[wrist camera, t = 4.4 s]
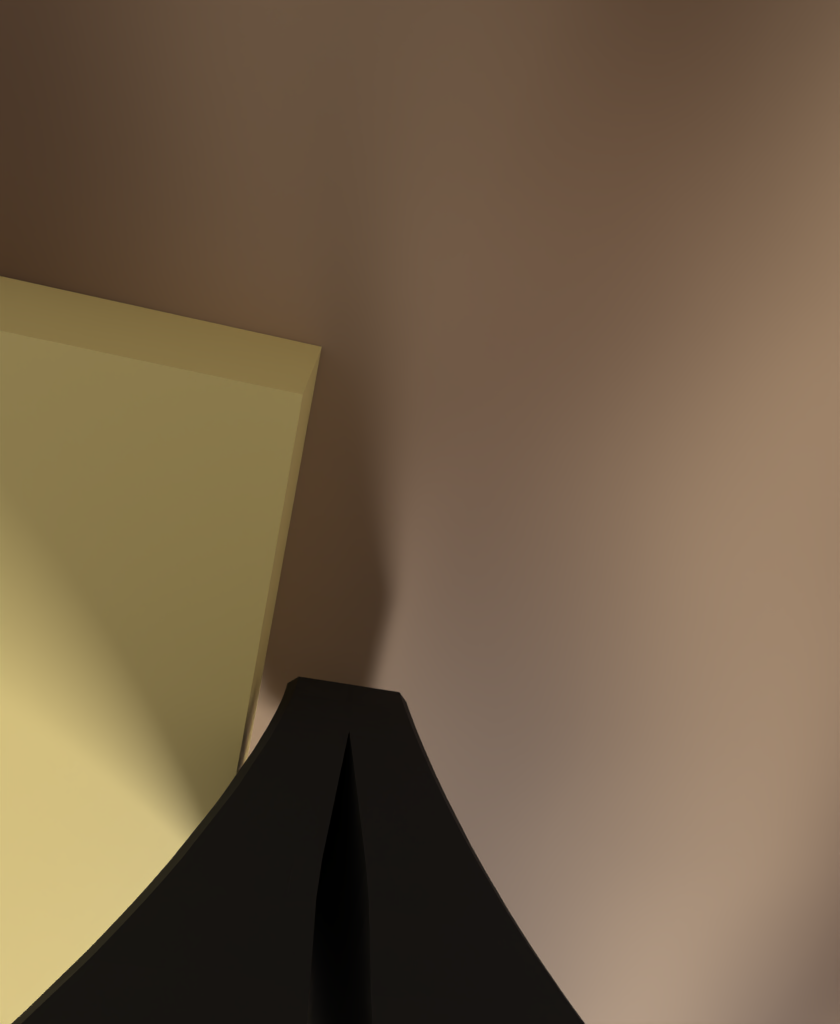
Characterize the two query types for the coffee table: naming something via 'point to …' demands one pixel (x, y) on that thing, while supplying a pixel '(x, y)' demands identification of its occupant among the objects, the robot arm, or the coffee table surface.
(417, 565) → the deck
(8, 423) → the yellow rectangular block
